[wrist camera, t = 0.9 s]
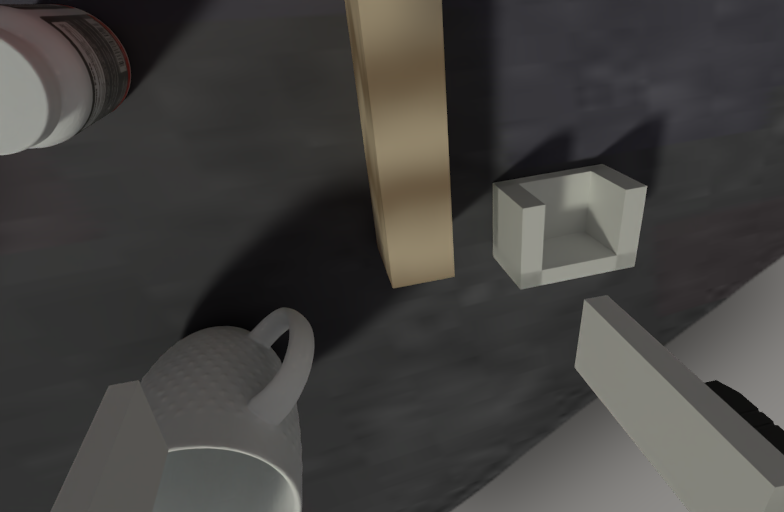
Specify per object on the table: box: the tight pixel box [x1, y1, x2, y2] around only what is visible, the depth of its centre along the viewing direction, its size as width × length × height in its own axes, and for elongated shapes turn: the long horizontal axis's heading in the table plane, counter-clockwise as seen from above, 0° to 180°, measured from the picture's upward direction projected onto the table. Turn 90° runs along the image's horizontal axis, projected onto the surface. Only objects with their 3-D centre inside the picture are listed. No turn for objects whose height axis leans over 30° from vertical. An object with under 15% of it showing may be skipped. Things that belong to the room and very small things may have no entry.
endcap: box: [493, 164, 647, 289], centre depth 34 cm, size 6×8×5 cm
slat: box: [345, 0, 455, 288], centre depth 27 cm, size 25×4×6 cm, turn 6°
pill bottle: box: [0, 4, 131, 155], centre depth 22 cm, size 6×6×10 cm
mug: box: [140, 307, 315, 512], centre depth 31 cm, size 15×11×13 cm
